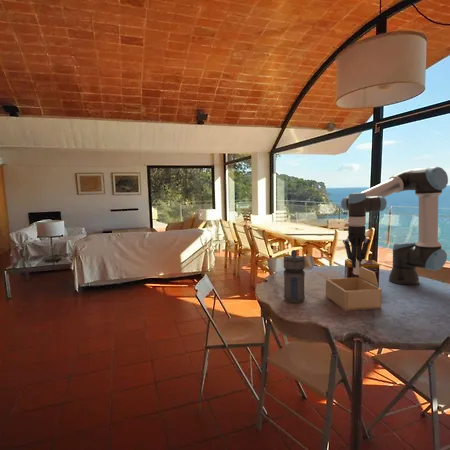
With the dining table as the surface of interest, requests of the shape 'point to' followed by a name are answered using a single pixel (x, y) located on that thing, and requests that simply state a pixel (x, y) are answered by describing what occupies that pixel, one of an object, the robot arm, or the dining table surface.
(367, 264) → the supplement box
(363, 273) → the flap
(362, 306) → the carton
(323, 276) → the flap
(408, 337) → the dining table surface
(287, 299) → the beverage bottle
